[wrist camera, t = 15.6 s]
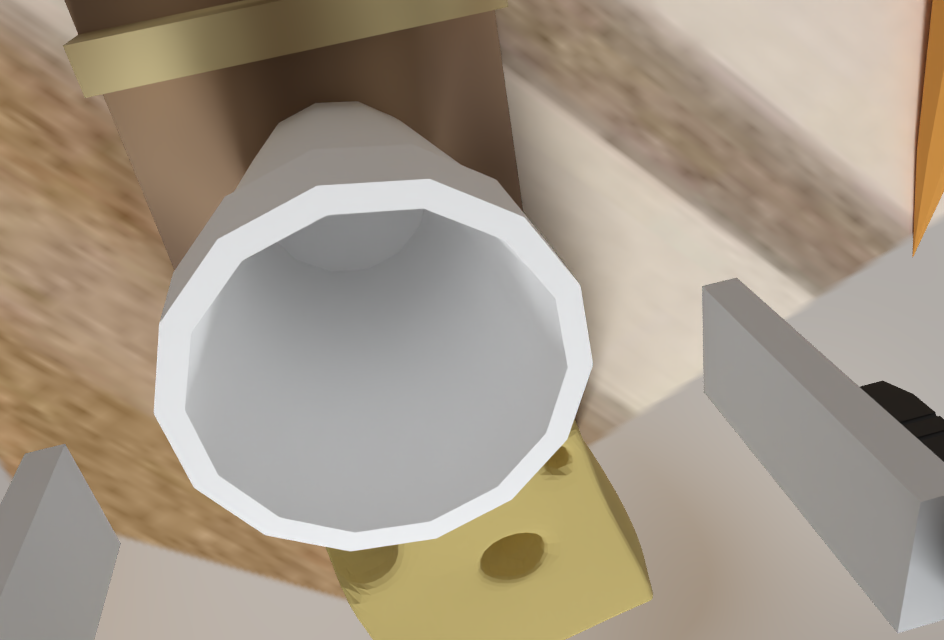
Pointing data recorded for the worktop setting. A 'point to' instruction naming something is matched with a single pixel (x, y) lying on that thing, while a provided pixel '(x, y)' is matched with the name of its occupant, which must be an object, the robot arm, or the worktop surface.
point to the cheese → (509, 565)
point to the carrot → (931, 129)
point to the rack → (283, 85)
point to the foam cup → (367, 339)
